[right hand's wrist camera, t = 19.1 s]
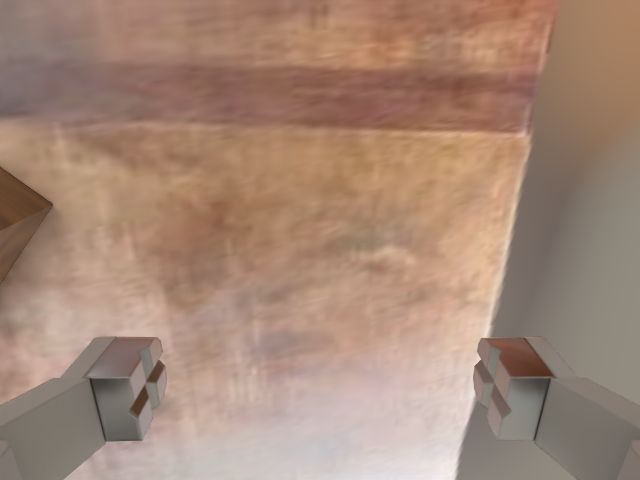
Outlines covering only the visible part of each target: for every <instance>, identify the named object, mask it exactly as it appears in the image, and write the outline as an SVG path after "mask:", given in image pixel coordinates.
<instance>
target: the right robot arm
mask: <svg viewBox="0 0 640 480" xmlns="http://www.w3.org/2000/svg"><path fill="white" fill-rule="evenodd" d="M162 352H163V350H162V345H161V341H160V340H159V339H158V338H157V337H97V338H94V339H93V341H92V342H91V343H90V344H89V345H88V346H87V347H86V349H85V350H84V351H83V352H82V353H81V354H80V356H79V357H78V358H77V359H76V360H75V361H74V362H73V364H72V365H71V366H70V367H69V368H68V369H67V371H66V372H65V373H64V374H63V375H62V376H61V378H53V379H51V380H49V381H47V382H45V383H43V384H41V385H39V386H37V387H35V388H33V389H31V390H30V391H28V392H26V393H24V394H22V395H20V396H18V397H16V398H14V399H12V400H10V401H8V402H6V403H4V404H2V405H0V480H63V479H64V478H65V477H67V476H68V475H69V474H70V473H71V472H73V471H74V470H75V469H76V468H77V467H78V466H80V465H81V464H82V463H83V462H84V461H85V460H87V459H88V458H89V457H90V456H91V455H93V454H94V453H95V452H96V451H97V450H98V449H100V448H101V447H102V446H103V445H104V444H105V441H139V440H143V438H144V436H145V434H146V432H147V430H148V428H149V426H150V424H151V422H152V420H153V415H152V410H153V409H154V408H156V407H157V406H158V405H160V403H161V401H162V399H163V397H164V393H165V389H166V384H167V374H166V367H165V365H164V364H163V363H162V362H161V361H160V360H159V358H160V356H161V354H162ZM477 352H478V354H479V356H480V358H481V360H480V361H479V362H478V363H477V364H476V365H475V367H474V375H473V381H474V390H475V393H476V397H477V399H478V401H479V403H480V405H482V406H483V407H484V408H486V409H487V410H488V415H487V420H488V422H489V424H490V426H491V428H492V430H493V432H494V434H495V436H496V438H497V440H500V441H535V442H534V443H535V444H536V445H537V446H538V447H539V448H541V449H542V450H543V451H544V452H545V453H547V454H548V455H549V456H550V457H551V458H552V459H553V460H555V461H556V462H557V463H558V464H559V465H561V466H562V467H563V468H564V469H565V470H566V471H568V472H569V473H570V474H571V475H572V476H573V477H575V478H576V479H577V480H640V405H638V404H636V403H634V402H632V401H630V400H628V399H626V398H624V397H622V396H620V395H618V394H616V393H614V392H612V391H610V390H608V389H606V388H605V387H603V386H601V385H599V384H597V383H595V382H593V381H591V380H589V379H587V378H579V376H578V375H577V374H576V373H575V372H574V371H573V369H572V368H571V367H570V366H569V365H568V364H567V363H566V361H565V360H564V359H563V358H562V357H561V356H560V354H559V353H558V352H557V351H556V350H555V349H554V348H553V346H552V345H551V344H550V343H549V342H548V341H547V339H545V338H543V337H541V336H537V337H518V338H481V340H480V342H479V344H478V349H477Z"/></svg>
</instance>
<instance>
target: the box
mask: <svg viewBox="0 0 640 480" xmlns="http://www.w3.org/2000/svg"><path fill="white" fill-rule="evenodd" d="M52 205H53V204H52V203H50V202H49V201H47V200H46V199H44V198H43V197H41V196H40V195H39V194H37V193H36V192H34V191H33V190H31V189H30V188H29V187H27V186H26V185H24V184H23V183H21V182H20V181H19V180H17V179H16V178H14V177H13V176H11V175H10V174H9V173H7V172H6V171H4V170H3V169H1V168H0V283H1V282H2V280H3V279H4V277H5V276H6V274H7V273H8V271H9V270H10V268H11V267H12V265H13V264H14V262H15V261H16V259H17V258H18V256H19V255H20V253H21V252H22V250H23V249H24V247H25V246H26V244H27V243H28V241H29V240H30V238H31V237H32V235H33V234H34V232H35V231H36V229H37V228H38V226H39V225H40V223H41V222H42V220H43V219H44V217H45V216H46V214H47V213H48V211H49V210H50V208H51V207H52Z"/></svg>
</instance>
